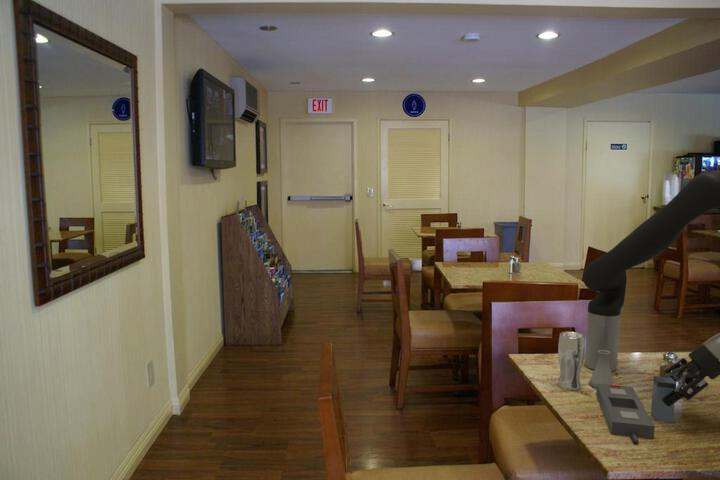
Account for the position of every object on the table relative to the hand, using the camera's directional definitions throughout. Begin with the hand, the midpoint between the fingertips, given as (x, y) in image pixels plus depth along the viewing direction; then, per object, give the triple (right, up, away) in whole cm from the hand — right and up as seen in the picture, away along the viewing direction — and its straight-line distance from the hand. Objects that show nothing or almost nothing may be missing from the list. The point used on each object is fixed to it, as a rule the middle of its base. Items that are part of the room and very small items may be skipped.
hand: (660, 396), depth 141 cm
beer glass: (-15, -3, +21) cm, 26 cm away
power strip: (-9, -6, +1) cm, 10 cm away
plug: (+1, -6, +1) cm, 6 cm away
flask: (-5, -3, +22) cm, 22 cm away
